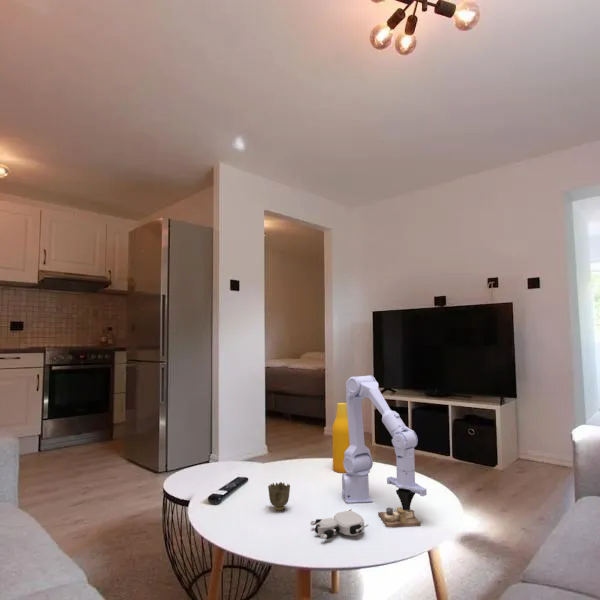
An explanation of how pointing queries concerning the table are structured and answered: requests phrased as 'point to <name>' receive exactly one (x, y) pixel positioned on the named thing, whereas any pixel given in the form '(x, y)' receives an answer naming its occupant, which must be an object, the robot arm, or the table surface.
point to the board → (398, 523)
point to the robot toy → (340, 524)
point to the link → (396, 515)
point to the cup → (279, 495)
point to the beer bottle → (340, 437)
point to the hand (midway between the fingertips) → (406, 512)
